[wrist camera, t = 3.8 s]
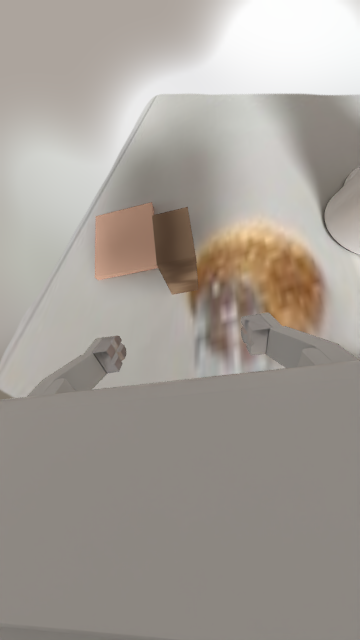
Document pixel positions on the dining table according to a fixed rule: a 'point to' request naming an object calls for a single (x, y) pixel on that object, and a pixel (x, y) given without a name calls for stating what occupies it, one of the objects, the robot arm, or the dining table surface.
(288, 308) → the dining table surface
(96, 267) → the mat
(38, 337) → the dining table surface
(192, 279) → the card box
